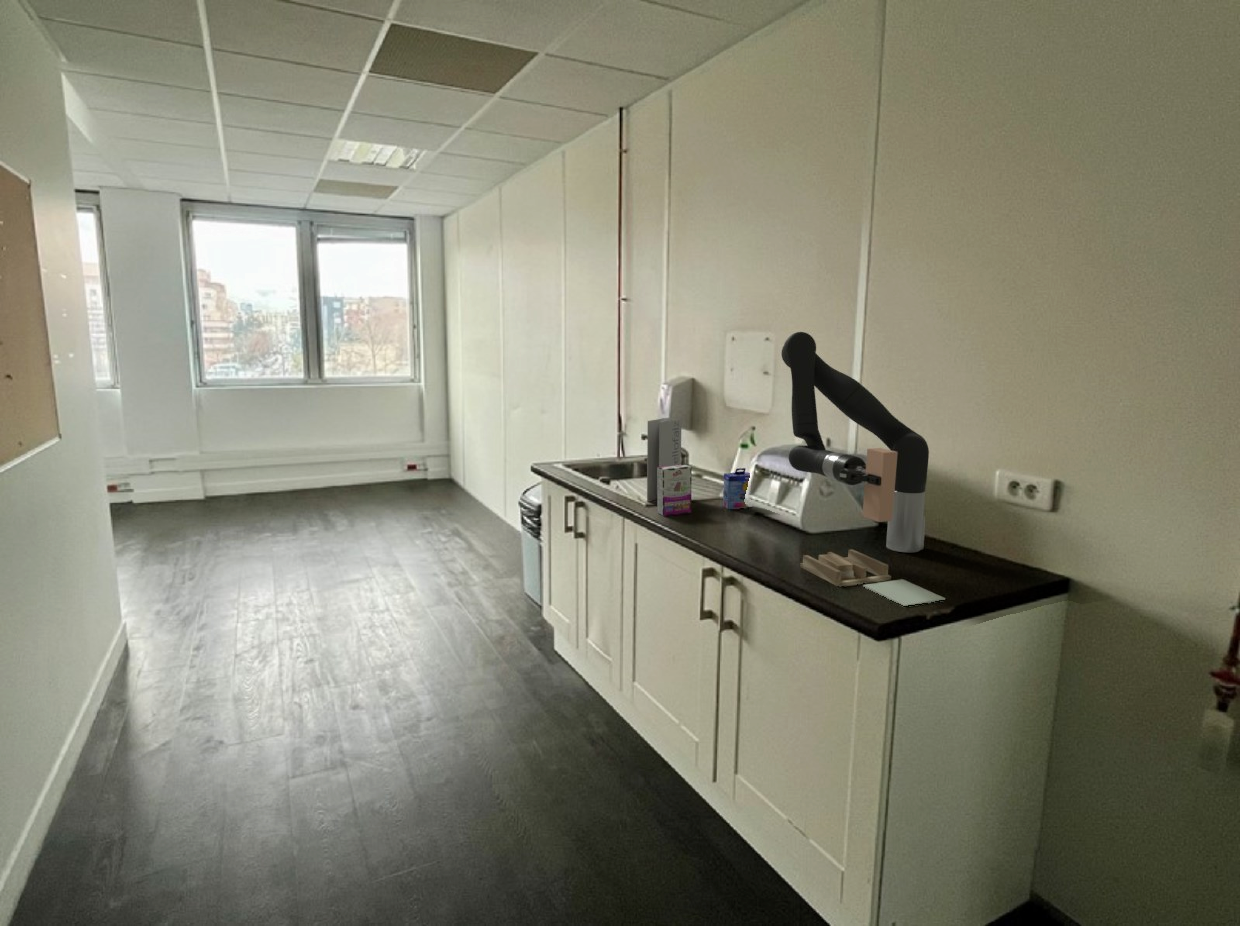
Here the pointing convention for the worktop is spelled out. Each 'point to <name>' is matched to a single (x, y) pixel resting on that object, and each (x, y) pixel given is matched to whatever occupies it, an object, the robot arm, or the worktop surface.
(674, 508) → the candy bar box
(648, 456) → the grey lettered box
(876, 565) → the birch rack
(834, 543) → the worktop surface
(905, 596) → the sage mat
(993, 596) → the worktop surface
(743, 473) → the ink cartridge box
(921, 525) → the robot arm
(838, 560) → the plywood offcut stack
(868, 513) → the peach upright pillar
